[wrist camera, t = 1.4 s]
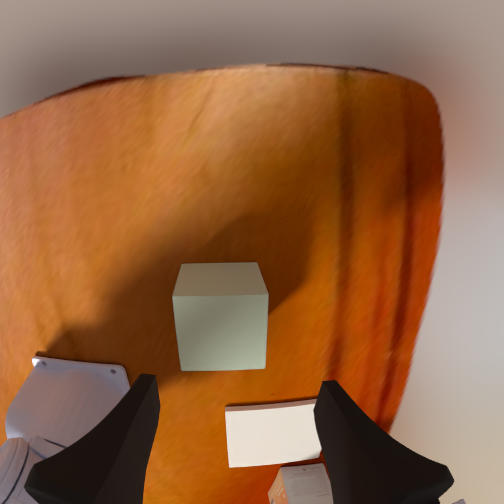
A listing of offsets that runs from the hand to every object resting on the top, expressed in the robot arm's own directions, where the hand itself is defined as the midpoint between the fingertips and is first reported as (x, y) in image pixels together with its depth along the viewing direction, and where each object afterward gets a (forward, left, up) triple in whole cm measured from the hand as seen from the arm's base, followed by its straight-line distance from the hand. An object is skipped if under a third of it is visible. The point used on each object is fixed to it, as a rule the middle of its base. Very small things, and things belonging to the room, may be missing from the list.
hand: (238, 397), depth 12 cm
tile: (+4, -16, -10) cm, 19 cm away
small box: (+7, -27, -10) cm, 30 cm away
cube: (-1, 0, -10) cm, 10 cm away
